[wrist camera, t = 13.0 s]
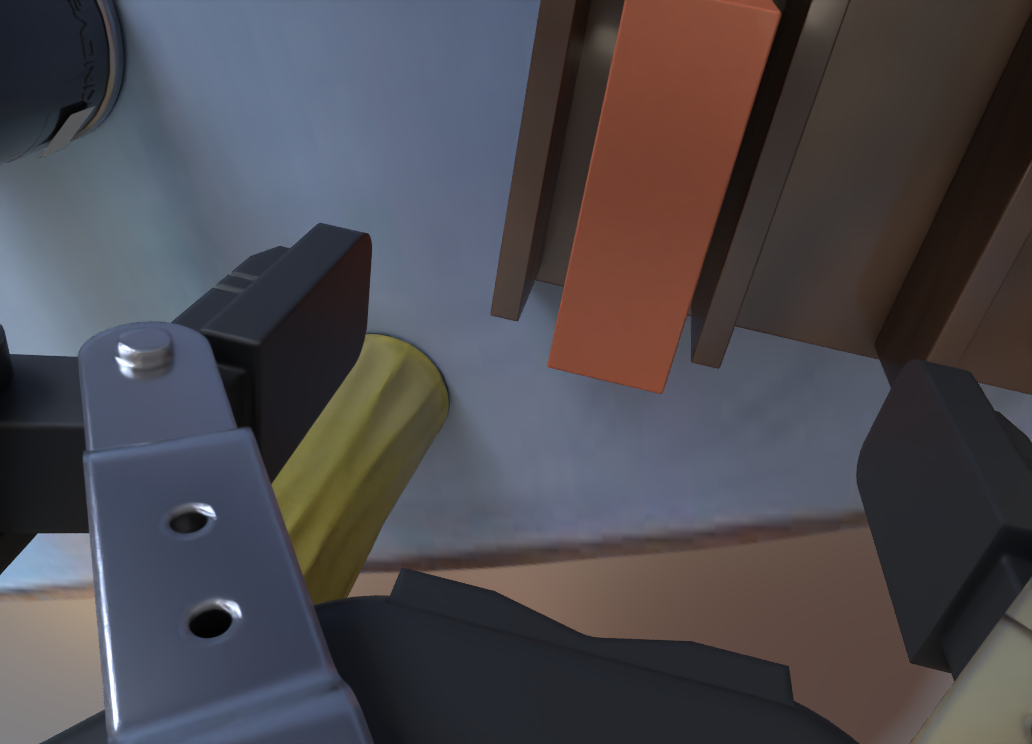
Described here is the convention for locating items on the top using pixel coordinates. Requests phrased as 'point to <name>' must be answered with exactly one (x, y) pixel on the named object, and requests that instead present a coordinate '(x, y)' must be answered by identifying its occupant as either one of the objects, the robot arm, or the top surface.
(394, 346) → the vase
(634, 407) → the top surface
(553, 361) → the terracotta rectangular prism
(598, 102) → the rack
